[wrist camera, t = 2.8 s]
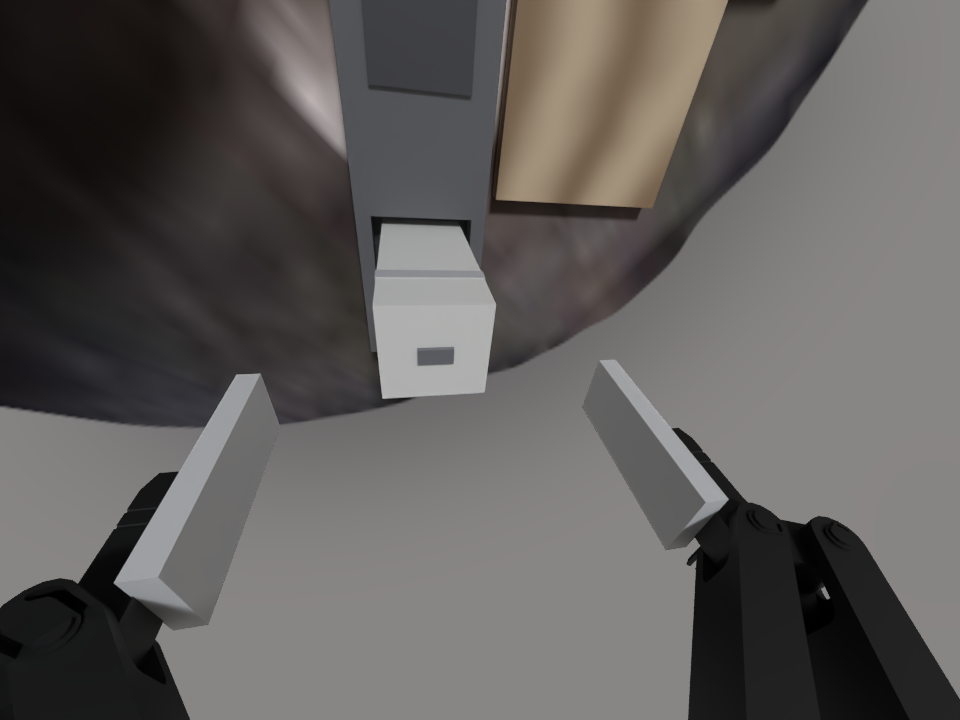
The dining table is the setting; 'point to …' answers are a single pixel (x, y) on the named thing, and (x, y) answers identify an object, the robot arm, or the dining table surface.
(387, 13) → the grey handheld radio
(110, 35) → the dining table surface
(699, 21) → the wooden board
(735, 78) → the dining table surface
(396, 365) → the block
